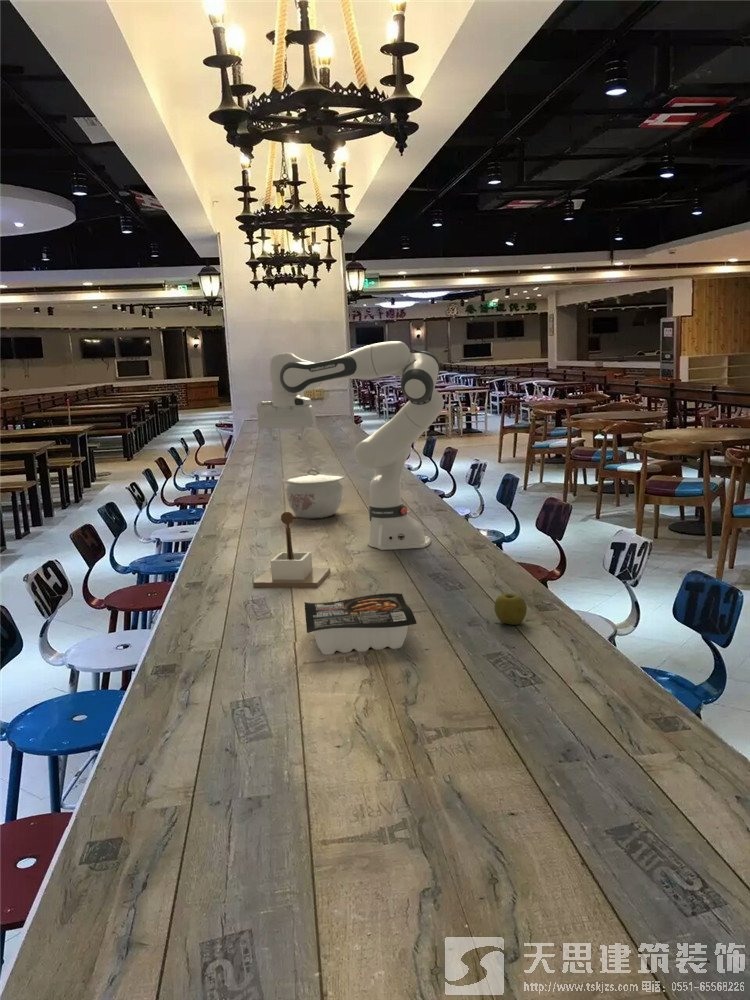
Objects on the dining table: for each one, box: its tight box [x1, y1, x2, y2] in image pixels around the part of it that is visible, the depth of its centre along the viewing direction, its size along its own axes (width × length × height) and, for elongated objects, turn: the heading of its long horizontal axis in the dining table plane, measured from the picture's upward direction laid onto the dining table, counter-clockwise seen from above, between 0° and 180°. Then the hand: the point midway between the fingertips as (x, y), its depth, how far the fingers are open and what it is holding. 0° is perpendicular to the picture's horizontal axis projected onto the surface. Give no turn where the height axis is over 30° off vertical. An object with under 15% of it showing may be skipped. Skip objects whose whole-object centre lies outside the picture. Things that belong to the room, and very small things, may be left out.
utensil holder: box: [252, 551, 331, 589], centre depth 239 cm, size 20×16×8 cm
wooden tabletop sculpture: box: [280, 511, 300, 560], centre depth 238 cm, size 6×5×20 cm
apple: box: [494, 593, 528, 626], centre depth 192 cm, size 8×8×7 cm
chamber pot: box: [281, 467, 346, 520], centre depth 333 cm, size 28×28×21 cm
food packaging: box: [303, 592, 418, 656], centre depth 187 cm, size 25×8×23 cm
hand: (287, 440), depth 270 cm, fingers open, 8 cm apart
